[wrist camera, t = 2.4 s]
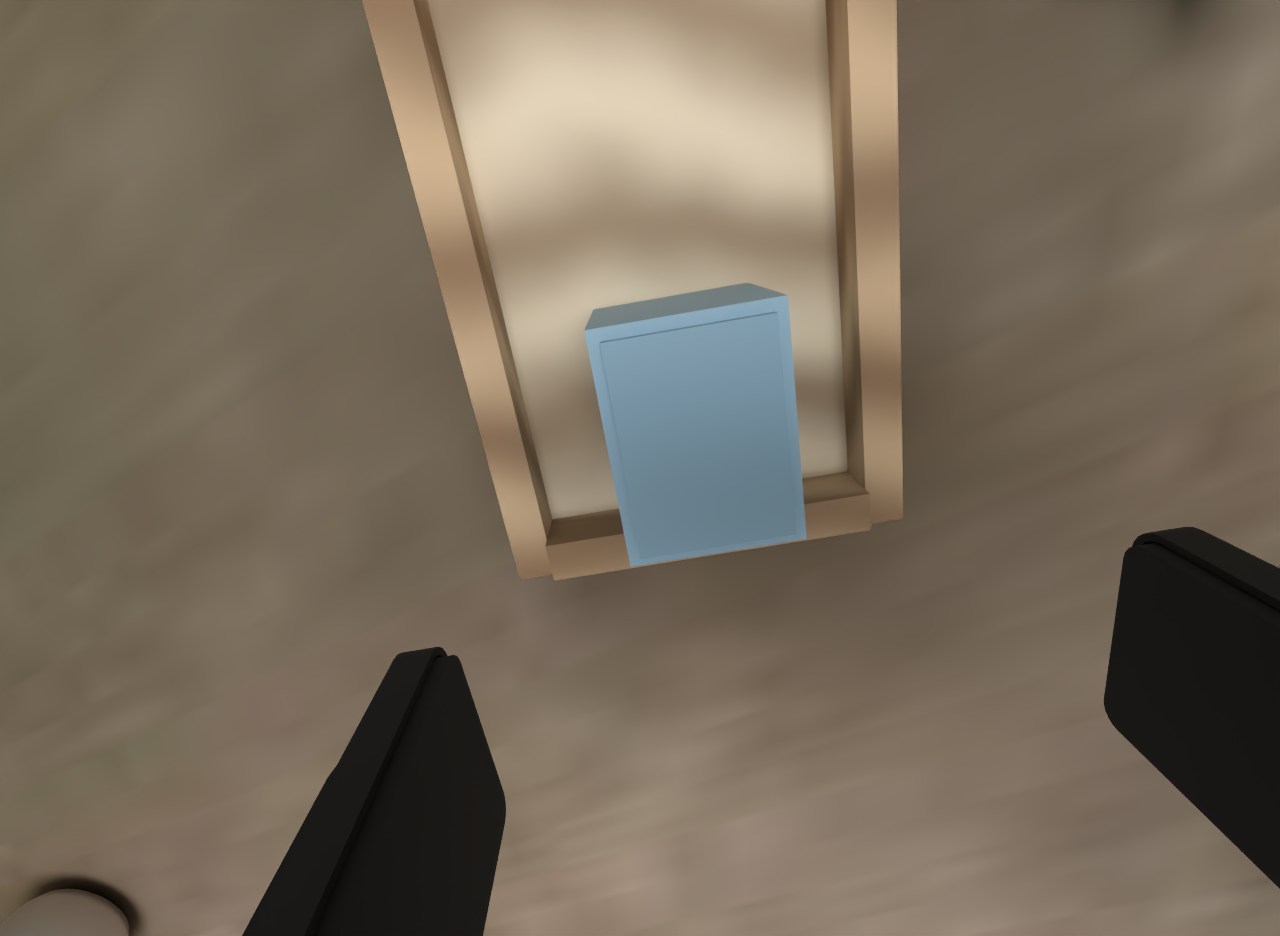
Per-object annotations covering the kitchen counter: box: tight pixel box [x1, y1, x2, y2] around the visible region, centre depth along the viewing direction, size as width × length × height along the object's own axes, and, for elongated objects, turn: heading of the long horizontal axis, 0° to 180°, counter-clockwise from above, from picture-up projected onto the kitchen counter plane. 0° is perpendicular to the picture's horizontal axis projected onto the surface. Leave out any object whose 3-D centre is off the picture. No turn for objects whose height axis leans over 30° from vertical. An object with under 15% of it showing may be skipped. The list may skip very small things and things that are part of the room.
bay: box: [362, 0, 903, 581], centre depth 21 cm, size 24×16×6 cm, turn 9°
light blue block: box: [584, 283, 807, 567], centre depth 22 cm, size 8×6×6 cm
